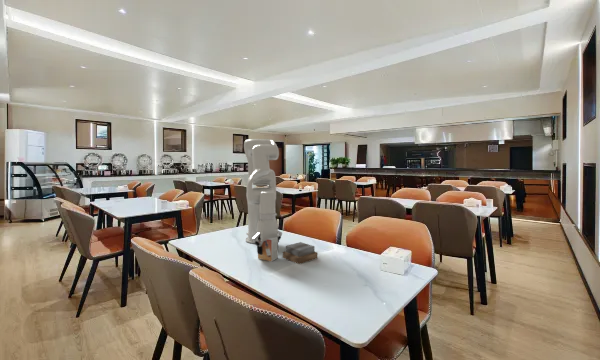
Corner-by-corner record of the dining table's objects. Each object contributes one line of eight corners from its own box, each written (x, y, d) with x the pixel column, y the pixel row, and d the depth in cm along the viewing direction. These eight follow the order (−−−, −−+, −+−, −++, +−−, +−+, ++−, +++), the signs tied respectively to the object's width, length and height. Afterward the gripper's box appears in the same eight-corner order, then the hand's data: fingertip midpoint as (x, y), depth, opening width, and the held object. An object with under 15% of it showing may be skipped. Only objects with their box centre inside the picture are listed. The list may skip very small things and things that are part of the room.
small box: (257, 259, 142) (257, 237, 141) (264, 255, 147) (264, 235, 146) (271, 261, 138) (271, 239, 138) (277, 258, 143) (277, 237, 143)
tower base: (282, 257, 144) (282, 245, 143) (300, 252, 152) (300, 241, 151) (299, 264, 135) (299, 251, 134) (317, 258, 143) (317, 246, 142)
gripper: (277, 213, 150) (277, 246, 151) (247, 217, 138) (248, 254, 139) (286, 215, 144) (286, 250, 145) (256, 220, 133) (257, 257, 134)
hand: (267, 251), depth 142 cm, fingers open, 8 cm apart
